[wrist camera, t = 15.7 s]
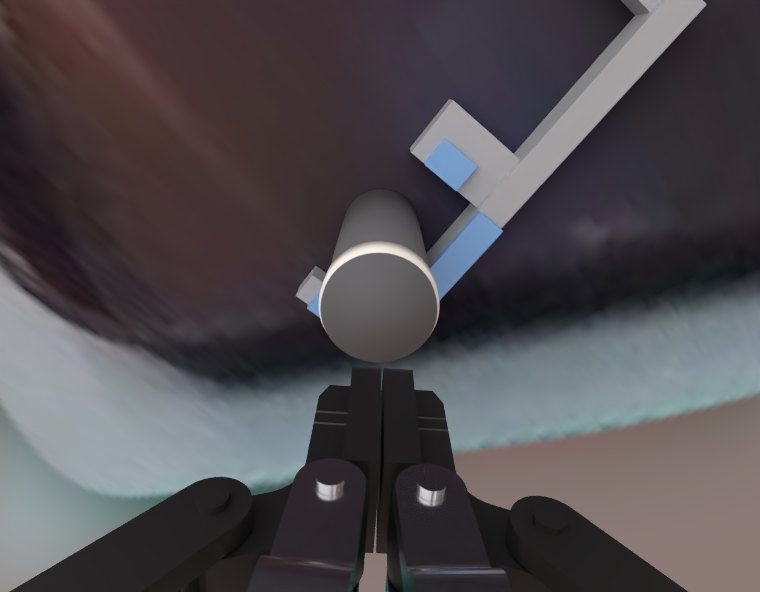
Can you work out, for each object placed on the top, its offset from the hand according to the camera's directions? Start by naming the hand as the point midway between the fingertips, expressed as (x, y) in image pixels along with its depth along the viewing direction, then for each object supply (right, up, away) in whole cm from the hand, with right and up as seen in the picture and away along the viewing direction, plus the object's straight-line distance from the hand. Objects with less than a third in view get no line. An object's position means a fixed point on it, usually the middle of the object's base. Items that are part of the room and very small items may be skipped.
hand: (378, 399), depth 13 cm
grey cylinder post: (0, +6, +15) cm, 16 cm away
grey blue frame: (+5, +9, +14) cm, 17 cm away
